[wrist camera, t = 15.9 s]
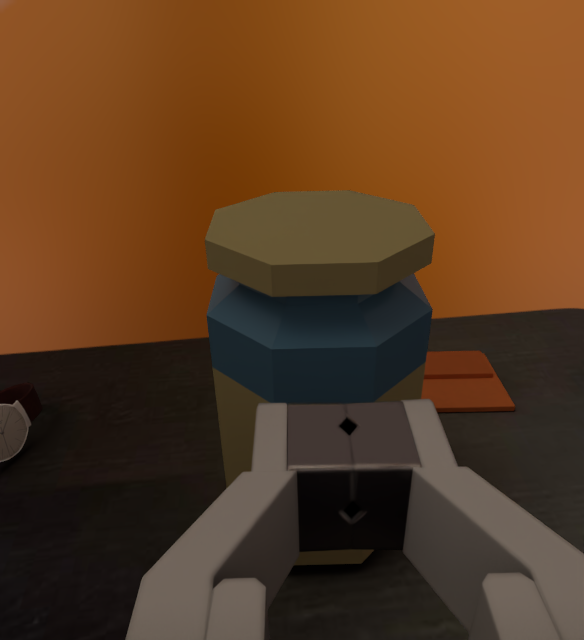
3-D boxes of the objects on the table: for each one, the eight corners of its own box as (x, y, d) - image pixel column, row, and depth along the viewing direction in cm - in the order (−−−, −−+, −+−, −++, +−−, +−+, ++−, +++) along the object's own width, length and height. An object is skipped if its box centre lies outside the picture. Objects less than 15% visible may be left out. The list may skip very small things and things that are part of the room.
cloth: (483, 358, 38) (485, 348, 38) (514, 411, 33) (516, 401, 32) (291, 361, 38) (291, 352, 38) (291, 415, 33) (291, 405, 33)
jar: (270, 424, 32) (257, 181, 25) (420, 462, 29) (457, 198, 22) (193, 544, 25) (142, 249, 17) (383, 611, 22) (419, 289, 14)
